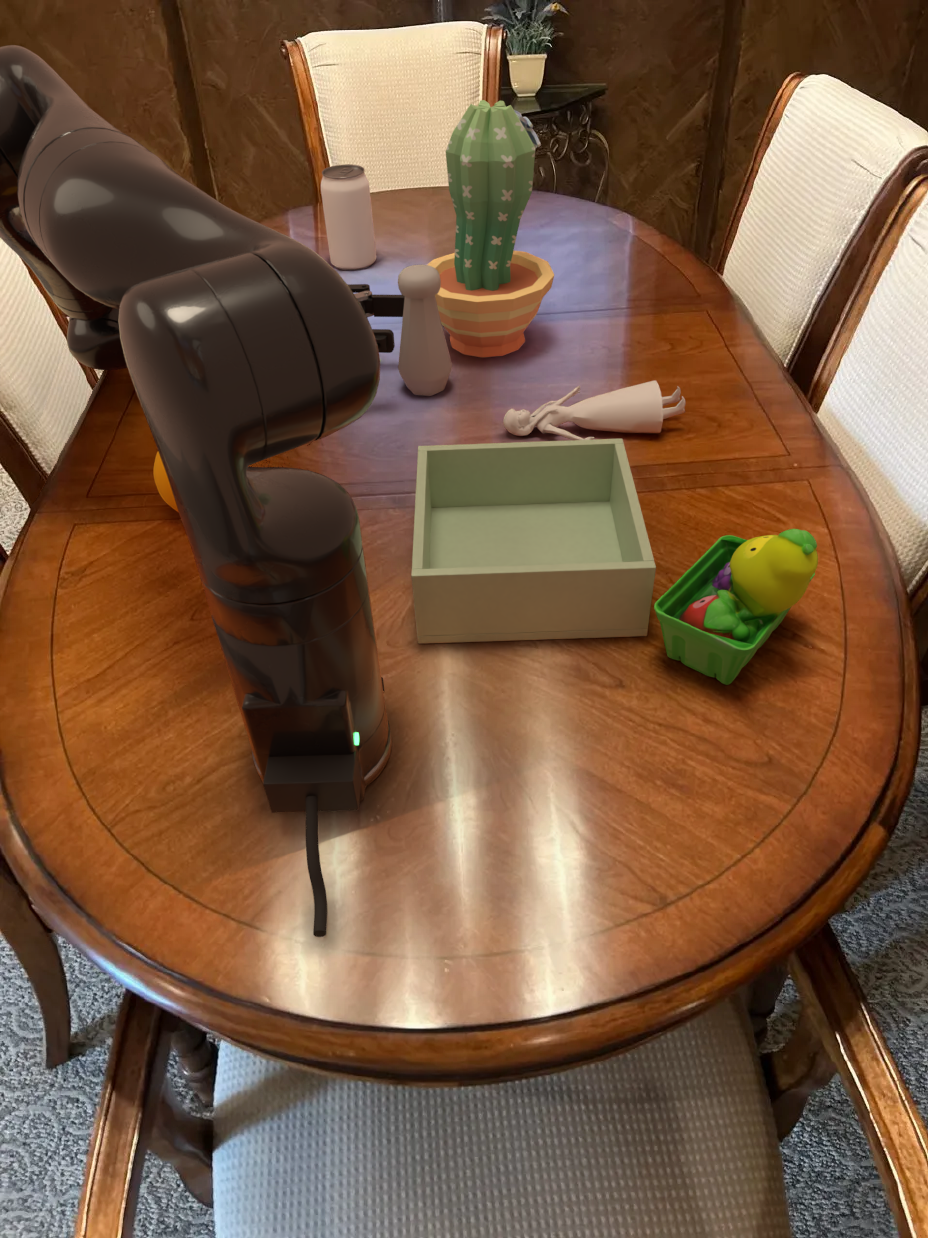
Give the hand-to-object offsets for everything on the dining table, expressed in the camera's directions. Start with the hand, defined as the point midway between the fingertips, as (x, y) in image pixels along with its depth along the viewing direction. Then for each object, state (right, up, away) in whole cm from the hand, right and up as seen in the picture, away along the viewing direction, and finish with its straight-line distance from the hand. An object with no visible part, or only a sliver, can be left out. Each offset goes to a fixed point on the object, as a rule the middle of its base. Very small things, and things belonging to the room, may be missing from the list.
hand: (400, 322), depth 96 cm
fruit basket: (+27, -33, -26) cm, 50 cm away
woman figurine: (+20, -12, -3) cm, 23 cm away
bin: (+12, -27, -19) cm, 35 cm away
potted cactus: (+9, +2, +13) cm, 16 cm away
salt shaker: (+3, -6, +5) cm, 8 cm away
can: (-9, +19, +33) cm, 39 cm away
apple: (-17, -21, -10) cm, 29 cm away
